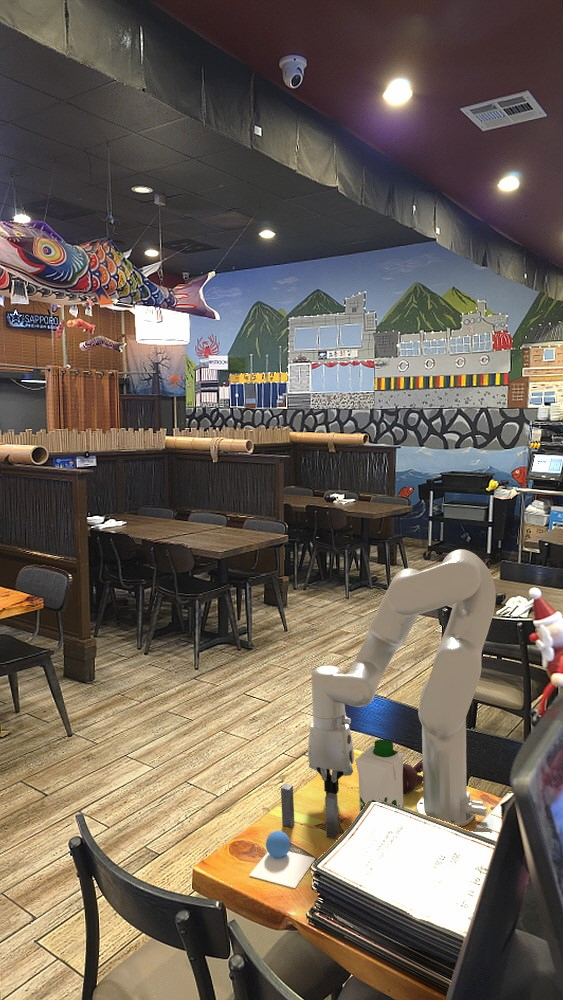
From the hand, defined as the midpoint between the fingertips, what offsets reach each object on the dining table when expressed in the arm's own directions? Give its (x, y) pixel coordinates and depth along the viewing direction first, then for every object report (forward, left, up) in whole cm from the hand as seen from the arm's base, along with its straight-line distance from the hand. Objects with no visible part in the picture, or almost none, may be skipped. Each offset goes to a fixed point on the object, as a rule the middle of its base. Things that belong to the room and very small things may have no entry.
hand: (331, 794), depth 164 cm
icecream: (-14, -10, -2) cm, 18 cm away
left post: (+5, +13, -2) cm, 14 cm away
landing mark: (0, +27, -2) cm, 27 cm away
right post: (-5, +13, -2) cm, 14 cm away
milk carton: (-15, +10, -2) cm, 18 cm away
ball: (+2, +24, +1) cm, 24 cm away
